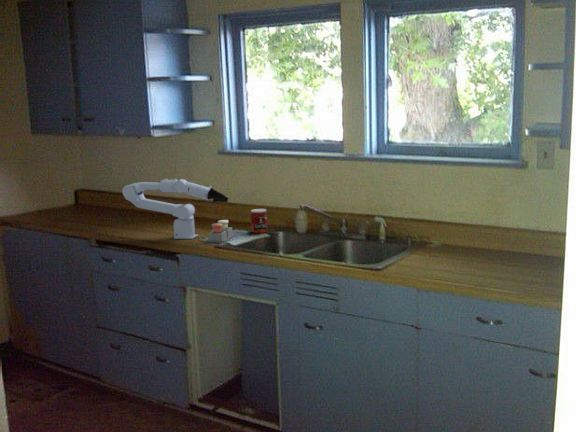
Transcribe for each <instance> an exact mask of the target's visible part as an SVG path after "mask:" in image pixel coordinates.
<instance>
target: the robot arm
mask: <svg viewBox="0 0 576 432" xmlns="http://www.w3.org/2000/svg"><path fill="white" fill-rule="evenodd" d="M146 190H160V192H162V193H176V192H177V193H178V194H182V193H183V194H187V195H189V196H193V197H197V198H200V199H203V200H206V201H208V200H212V203H228V202H229V198H228V197H227V196H225V194H223V193H221V192H219V191H217V190H215V189H214V188H213V186H212V185H209V186H205V185H201V184H197V183H194V182H190V181H187V180H186V179H184V178H180V179H177V178H174V179H168V178H164V179H162V180H160V182H155V181H153V182H152V181H149V182H148V181H140V182H134V183H133V182H132V183H131V184H129V185H128V184H127V185H124V186H123V188H122V195H123V197H124V199H125V200H127V201H129V202H130V203H131V204H133V205H134V207H136V208H138V209H143V210H149V211H154V212H158V213H164V214H169V215H172V216H173V217H176V218H177V219H174V220H173V236H174V237H173V239H180V240H181V239H183V240H184V239H185V240H186V239H188V240H192V239H194V238H196V237H198V236H199V234H196V233H195V232H196V230H195V219H194V218H195V217H194V214H196V208H195V206H194V205H193V204H191V203H186V204H182V203H178V204H176V203H171V202H165V201H160V200H155V199H150V198H146V196H145V195H144V191H146Z"/></svg>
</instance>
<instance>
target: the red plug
mask: <svg viewBox="0 0 576 432" xmlns="http://www.w3.org/2000/svg"><path fill="white" fill-rule="evenodd" d="M221 227H222V224H221V223H218V222H216V223H212V224H211V228H212V231H213V233H218V234H221V233H222V228H221Z"/></svg>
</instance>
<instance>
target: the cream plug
mask: <svg viewBox="0 0 576 432" xmlns="http://www.w3.org/2000/svg"><path fill="white" fill-rule="evenodd" d="M217 223H221V224H222V227H221V228H222V230H227V229H228V225H229V220H228V219H220V220H217Z"/></svg>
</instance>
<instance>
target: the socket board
mask: <svg viewBox="0 0 576 432" xmlns="http://www.w3.org/2000/svg"><path fill="white" fill-rule="evenodd" d="M207 235H208V236H207V237H208V238H207V239H205V240H204V242H205V243H227V242H228V241H229V239H230V240H231V239H233V238H235V237H236V236H237V233H234V231H233V227H228V229H227V230H222V233H221V234H218V233H213V230H212V231H210V232H209V233H208V234H207ZM235 235H236V236H235ZM232 237H233V238H232Z"/></svg>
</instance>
